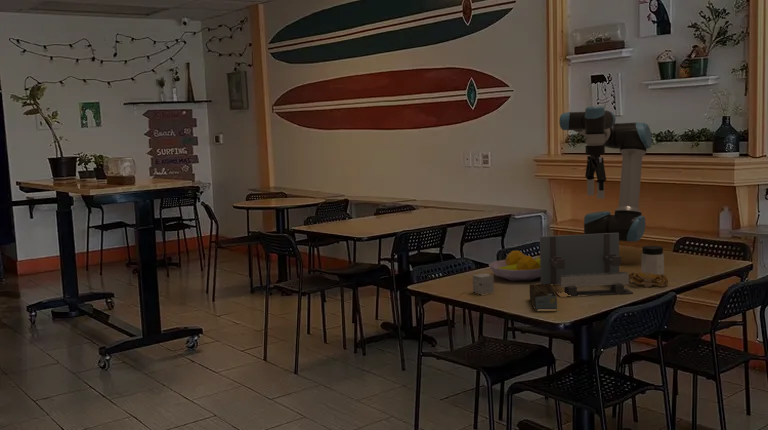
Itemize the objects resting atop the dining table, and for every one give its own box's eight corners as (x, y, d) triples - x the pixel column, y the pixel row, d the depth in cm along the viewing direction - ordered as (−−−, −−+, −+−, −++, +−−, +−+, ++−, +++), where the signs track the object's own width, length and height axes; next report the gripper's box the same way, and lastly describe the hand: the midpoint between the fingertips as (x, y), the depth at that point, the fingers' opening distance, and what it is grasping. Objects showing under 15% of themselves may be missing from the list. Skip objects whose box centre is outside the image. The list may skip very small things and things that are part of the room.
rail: (558, 285, 296) (558, 275, 296) (625, 281, 297) (625, 271, 296) (561, 287, 293) (561, 277, 292) (628, 283, 293) (628, 273, 293)
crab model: (663, 281, 311) (663, 268, 310) (670, 288, 299) (670, 274, 298) (624, 282, 313) (624, 268, 313) (629, 288, 301) (629, 275, 300)
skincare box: (472, 293, 306) (472, 274, 305) (485, 290, 308) (484, 272, 308) (481, 295, 300) (481, 277, 299) (494, 293, 303) (493, 275, 302)
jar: (654, 278, 317) (654, 249, 315) (637, 275, 324) (637, 247, 322) (667, 275, 322) (667, 246, 320) (651, 272, 329) (651, 244, 327)
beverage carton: (534, 312, 272) (534, 294, 271) (529, 300, 291) (528, 283, 290) (557, 312, 271) (557, 294, 270) (550, 299, 290) (550, 282, 289)
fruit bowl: (483, 283, 322) (482, 256, 321) (498, 270, 347) (497, 245, 346) (550, 285, 312) (550, 258, 311) (561, 272, 337) (560, 247, 336)
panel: (540, 284, 314) (539, 236, 312) (618, 280, 315) (618, 232, 313) (548, 292, 301) (547, 241, 298) (629, 288, 301) (629, 237, 299)
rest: (555, 293, 298) (555, 284, 298) (626, 289, 299) (626, 280, 299) (559, 297, 292) (559, 288, 291) (633, 293, 292) (633, 284, 292)
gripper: (577, 144, 324) (578, 194, 326) (595, 146, 299) (595, 200, 301) (595, 143, 324) (595, 193, 326) (614, 145, 299) (614, 199, 302)
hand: (595, 196), depth 314 cm, fingers open, 13 cm apart
